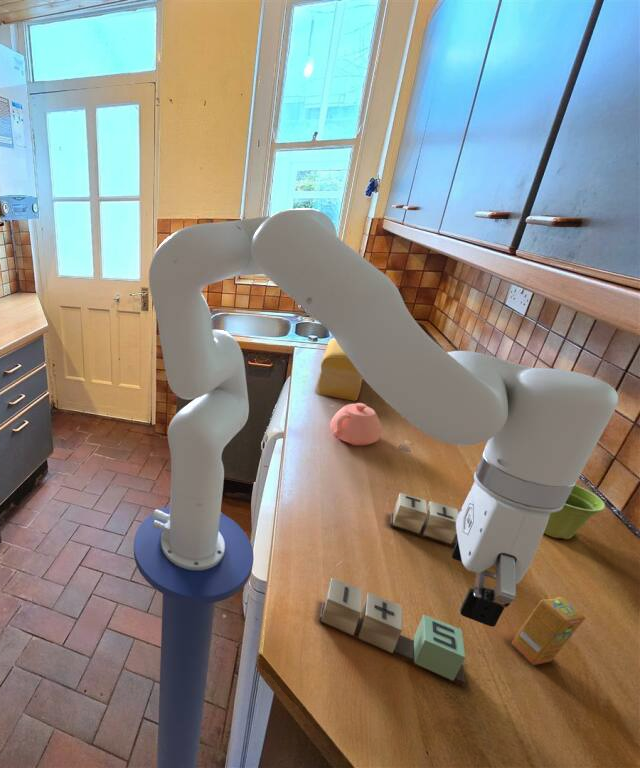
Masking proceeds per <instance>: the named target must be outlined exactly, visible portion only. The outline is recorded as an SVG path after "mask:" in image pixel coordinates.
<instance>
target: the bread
mask: <svg viewBox="0 0 640 768" xmlns="http://www.w3.org/2000/svg"><path fill="white" fill-rule="evenodd" d="M363 379H364V378H363V377H362V376H361V374H360V373H359V372H358V370H357V369H356V368H355V366H354V365H353V364H352V362H351V361H350V359H349V358H348V357H347V356H346V354H345V353H344V352H343V350H342V349H341V348H340V346H339V344H338V343H337V341H336V339H335V338H334V337H332V338H331V339H330V340H328V343H327V345H326V348H325V352H324V354H323V357H322V361H321V363H320V373H319V377H318V380H317V385H316V386H317V387H316V393H317V394H318V395H321V396H327V397H332V398H338V399H341V400H347V401H353V402H354V401H356V402H357V400H358V398H359V396H360V392H361V388H362V383H363Z"/></svg>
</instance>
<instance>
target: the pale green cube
mask: <svg viewBox="0 0 640 768" xmlns="http://www.w3.org/2000/svg"><path fill="white" fill-rule="evenodd" d="M463 636H464V635H463V630H462V629H461V628H458V627H456V626H453V625H451V624H448V623H446V622H444V621H441V620H438V619H436V618H433V617H432V616H428V615H426V614H423V615H422V617H421V620H420V621H419V625H418V627H417V629H416V631H415V633H414V636H413V641H414V661H415V664H417V665H419V666H422V667H424V668H426V669H428V670H431V671H433V672H435V673H437V674H439V675H442V676H444V677H446V678H448V679H450V680H454V678H455V677H456V675H457V673H458V671H459V669H460V667H461V665H463V664H464V662H465V660H466V650H465V645H464V637H463Z"/></svg>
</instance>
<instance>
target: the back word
mask: <svg viewBox="0 0 640 768" xmlns="http://www.w3.org/2000/svg"><path fill="white" fill-rule="evenodd" d="M458 515H459V510H458V508H456V507H451V506H448V505H445V504H441V503H438V502H434V501H432V500H430V501H429V503H428V504H427V500H426V499H423V498H420V497H417V496H413V495H409V494H406V493H403V492H399V494H398V497H397V500H396V503H395V505H394V509H393V511H392V513H391V514H390V518H389V519H390V520H389V527H391V528H394V529H396V530H400V531H403V532H406V533H409V534H412V535H415V536H418V537H421V538H425V539H428V540H430V541H434V542H437V543H440V544H443V545H446V546H449V547H452V548H454V547H455V545H456V542H457V540H458V537H457V531H456V520H457V517H458Z"/></svg>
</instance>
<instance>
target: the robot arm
mask: <svg viewBox="0 0 640 768" xmlns="http://www.w3.org/2000/svg"><path fill="white" fill-rule="evenodd" d="M253 275H264V276H265V277H266V278H268V279H269V280H270V281H271V282H272V283H273V284H274V285H275V286H276V287H278V288H279V289H280V290H281V291H282V292H283V293H285V295H288V296H289V297H290V298H291V299H292V300H293V301H294V302H295V303H297V304H298V305H299V306H300V307H301V308H303V309H304V310H305V311H306V312H307V313H308V314H309V315H311V317H313V318H314V319H315V320H316V321H317V322H318V323H320V324H321V325H322V326H323V327H324V328H325V329H326V330H327V331H328V332H329V334H331V335H332V336H333V338H335V339H336V341H337V343H338V344H339V346H340V348H341V349H342V350H343V352H344V353H345V354H346V356H347V357H348V358H349V359H350V361H351V362H352V364H353V365H354V366H355V368H356V369H357V370H358V372H359V373H360V374H361V376H362V377H363V378H362V379H363V381H364V382H366V383H367V385H369V387H370V388H371V389H372V390H373V391H374V392H375V393H376V394H377V395H378V396H379V397H380V398H381V399H382V400H383V401H385V402H386V404H388V405H389V407H391V408H392V409H394V411H395V412H397V413H398V414H399V415H400V416H401V417H402V418H404V419H406V421H407V422H409V423H410V424H411V425H412V426H414V427H415V428H416V429H417V430H419V431H420V432H422V433H423V434H424V435H427V437H430V438H432V439H434V440H436V441H438V442H441V443H444V444H446V445H447V444H448V445H453V446H461V447H465V446H474V445H479V444H482V443H485V442H486V445H485V447H484V450H483V452H482V455H481V457H480V459H479V462H478V464H477V467H476V470H475V472H474V474H473V480H474V482H473V484H472V486H471V488H470V489H469V492H468V494H467V496H466V498H465V499H464V502H463V504H462V506H461V508H460V511H458V514H459V515H458V517H457V520H456V531H457V532H456V533H457V537H458V540H457V542H456V545H455V547H453V549H452V552H451V558H452V559H453V560H455V561H457V562H461V563H462V565H463V566H464V568H465V569H466V570H467V571H469V572H473V573H475V580H474V585H473V586H474V587H473V588H471V587H469V589H468V591H467V593H466V596H465V597H464V600H463V602H462V604H461V606H460V609H459V613H460V616H462V617H464V618H466V619H470V620H472V621H475V622H478V623H480V624H483V625H485V626H489V627H490V628H491V627H492V628H493V627H495V626H496V625H497V623H498V621H499V619H500V617H501V615H502V614H503V612H504V610H505V609H506V608H508V607H509V606H510V605H511V603H512V602H514V601H515V600H516V596H517V585H518V584H519V583H520V582H521V581H522V580H523V579H524V577H525V575H526V574H527V572H528V571H529V568H530V566H531V564H532V562H533V560H534V558H535V555H536V554H537V551H538V549H539V546H540V544H541V542H542V539H543V537H544V535H545V534H544V531H545V528H546V525H547V523H548V519H549V516H550V513H553V512H557V511H560V510H561V509H562V508H563V506H564V505H565V502H566V501H567V499H568V497H569V495H570V493H571V491H572V489H573V487H574V486H575V485H577V484H576V483H577V482H578V480H579V479H580V476H581V474H582V473H583V472H584V469H585V467H586V465H587V463H588V461H589V459H590V458H591V456H592V454H593V452H594V450H595V448H596V446H597V444H598V443H599V441H600V439H601V437H602V435H603V433H604V431H605V429H606V427H607V426H608V424H609V422H610V420H611V419H612V417H613V415H614V413H615V410H616V408H617V406H618V403H619V394H618V392H617V391H616V389H615V387H613V386H612V385H610V383H608V382H605V381H604V380H602V379H599V378H596V377H594V376H592V375H588V374H585V373H582V372H576V371H572V370H566V369H561V368H560V369H559V368H547V367H533V366H528V365H523V364H519V363H516V362H513V361H509V360H505V359H502V358H499V357H495V356H493V355H492V356H491V355H489V354H485V353H480V352H476V351H469V350H453V351H448V352H447V351H446V350H444V348H442V347H441V346H440V345H439V344H438V343H437V342H435V340H434V339H432V337H431V336H430V335H428V334H427V333H426V331H425V330H424V329H423V328H422V327H421V326H420V325H419V324H418V322H417V321H416V320H415V318H414V317H413V315H412V314H411V312H410V311H409V309H408V307H407V306H406V304H405V301H404V300H403V297H402V295H401V293H400V291H399V289H398V287H397V286H396V284H395V283H394V282H393V281H392V279H390V277H389V276H388V275H386V273H384V272H382V271H381V270H380V269H378V268H377V267H376V266H375V265H374V264H372V263H371V262H370V261H368V260H367V259H366V258H364V257H363V256H362V255H360V254H359V253H358V252H357V251H356V250H354V249H353V248H352V247H350V246H349V245H348V244H347V243H345V242H344V241H343V240H342V239H341V238H340V237H338V235H337V228H336V226H335V223H334V222H333V220H332V219H331V218H330V217H329V216H328V215H327V214H326V213H324V212H323V211H321V210H319V209H315V208H309V207H303V208H289V209H284V210H281V211H278V212H276V213H274V214H272V215H271V214H270V215H266V216H259V217H251V218H245V219H236V220H229V221H219V222H206V223H198V224H193V225H190V226H189V225H188V226H186V227H183V228H181V229H179V230H177V231H175V232H173V233H172V234H171V235H170V236H167V238H166V239H164V240H163V242H161V244H159V246H158V247H157V249H156V250H155V252H154V253H153V256H152V258H151V261H150V265H149V269H148V286H149V288H148V289H149V292H150V293H149V294H150V296H151V300H152V304H153V308H154V313H155V316H156V321H157V326H158V335H159V342H160V347H161V353H162V359H163V365H164V370H165V375H166V379H167V384H168V386H169V388H170V390H171V392H172V393H173V394H174V395H175V396H176V397H178V398H180V399H183V400H192V401H190V402H189V403H188V404H186V405H185V406H184V407H182V408H180V410H179V411H178V412H177V413H176V414H175V415H174V416H173V417H172V419H171V420H170V422H169V425H168V428H167V441H168V447H169V452H170V463H171V465H170V469H171V470H170V473H171V474H170V499H169V506H170V514H169V515H168V514H165V513H164V512H162V511H160V509H156V508H155V510H154V511H153V512H152V513H153V518H154V519H157V520H159V521H163V522H165V524H163V523H161V522H159V521H157V520H155V521H154V522H153V527H156V528H158V529H161V530H163V533H162V536H161V547H162V550H163V552H164V554H165V556H166V557H167V558H168V559H169V560H170V561H171V562H172V563H174V564H175V565H177V566H179V567H181V568H185V569H188V570H205V569H209V568H212V567H214V566H215V565H217V564H218V563H219V562H220V561H221V559H222V558H223V556H224V552H225V542H224V539H223V537H222V535H221V534H220V532H219V522H220V513H222V511H221V510H222V501H223V492H224V483H225V482H224V480H225V468H224V463H223V460H222V457H223V456H222V455H223V452H224V449H225V447H226V446H227V445H228V444H229V443H230V442H231V441H232V440H233V438H234V437H235V436H236V435H237V434H239V432H240V431H241V430H242V429H243V428H244V426H245V425H246V423H247V421H248V418H249V413H250V403H249V395H248V385H247V376H246V375H247V374H246V367H245V359H244V354H243V352H242V351H243V350H242V349H241V346H240V345H239V343H238V341H237V340H236V339H235V337H234V336H233V335H232V334H230V333H228V332H227V331H224V330H222V329H216V328H215V329H213V323H212V322H213V321H212V314H211V309H210V307H209V305H208V302H207V300H206V298H205V296H204V295H203V289H204V288H205V287H206V286H209V285H212V284H215V283H218V282H219V283H220V282H221V281H225V280H228V279H231V278H234V277H242V276H253ZM491 567H493V568H495V572H492V571H490V570H488V569H490V568H491ZM486 577H487V578H491V579H493V580H495V581H496V582H495V586H494V587H493V589H491V588H489V587H488V588H486V587H485V582H486Z"/></svg>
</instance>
